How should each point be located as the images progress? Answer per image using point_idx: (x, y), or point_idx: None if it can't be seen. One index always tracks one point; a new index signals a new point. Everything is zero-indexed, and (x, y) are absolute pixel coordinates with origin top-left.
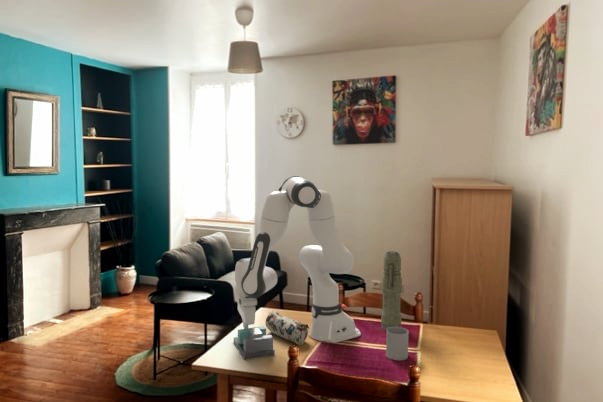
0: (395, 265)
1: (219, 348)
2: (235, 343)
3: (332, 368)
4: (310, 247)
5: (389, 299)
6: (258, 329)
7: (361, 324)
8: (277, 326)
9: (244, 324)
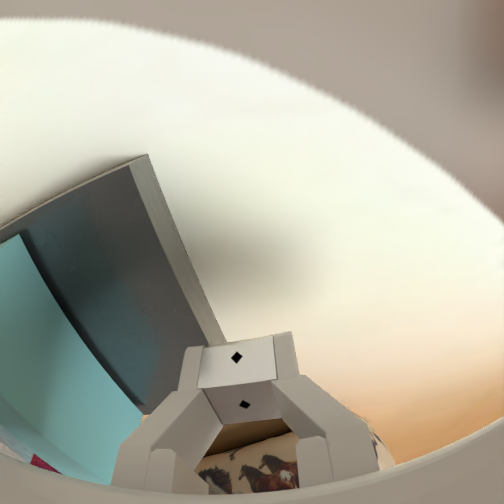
0: None
1: (29, 51)
2: (67, 190)
3: (33, 458)
4: None
5: None
6: (8, 455)
7: None
8: None
9: (159, 406)
